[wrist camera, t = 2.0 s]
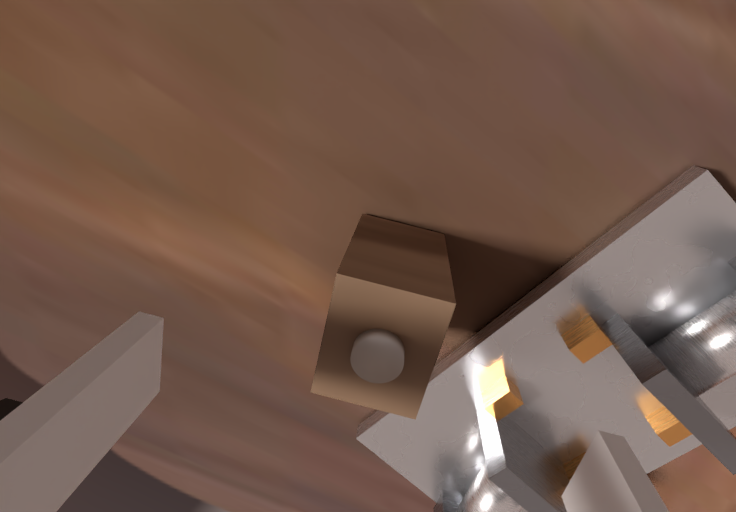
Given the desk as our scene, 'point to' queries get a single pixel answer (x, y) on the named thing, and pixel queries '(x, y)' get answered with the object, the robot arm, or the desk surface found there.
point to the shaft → (479, 498)
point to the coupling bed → (590, 361)
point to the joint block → (386, 317)
